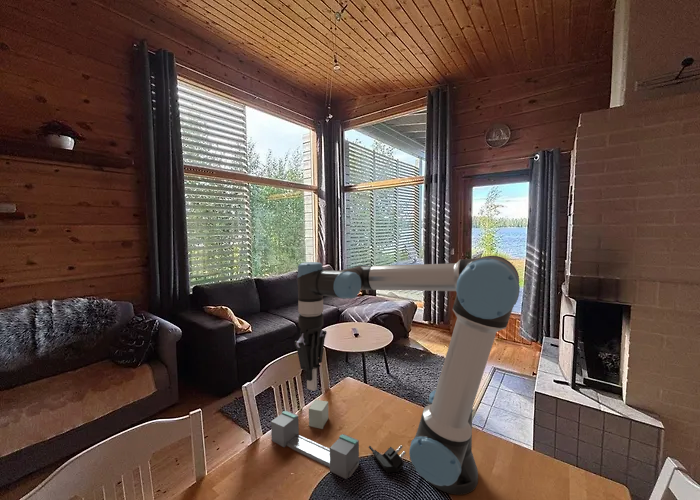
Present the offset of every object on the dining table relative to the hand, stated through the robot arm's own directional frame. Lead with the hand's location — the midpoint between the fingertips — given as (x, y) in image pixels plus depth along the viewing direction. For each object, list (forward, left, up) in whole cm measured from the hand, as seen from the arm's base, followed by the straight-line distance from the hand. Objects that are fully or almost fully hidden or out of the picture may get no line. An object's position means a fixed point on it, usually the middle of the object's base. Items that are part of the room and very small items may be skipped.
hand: (312, 388), depth 94 cm
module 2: (+7, -12, -20) cm, 25 cm away
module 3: (-12, 0, -20) cm, 23 cm away
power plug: (-16, -12, -18) cm, 27 cm away
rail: (0, 0, -20) cm, 20 cm away
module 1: (+12, 0, -20) cm, 24 cm away
